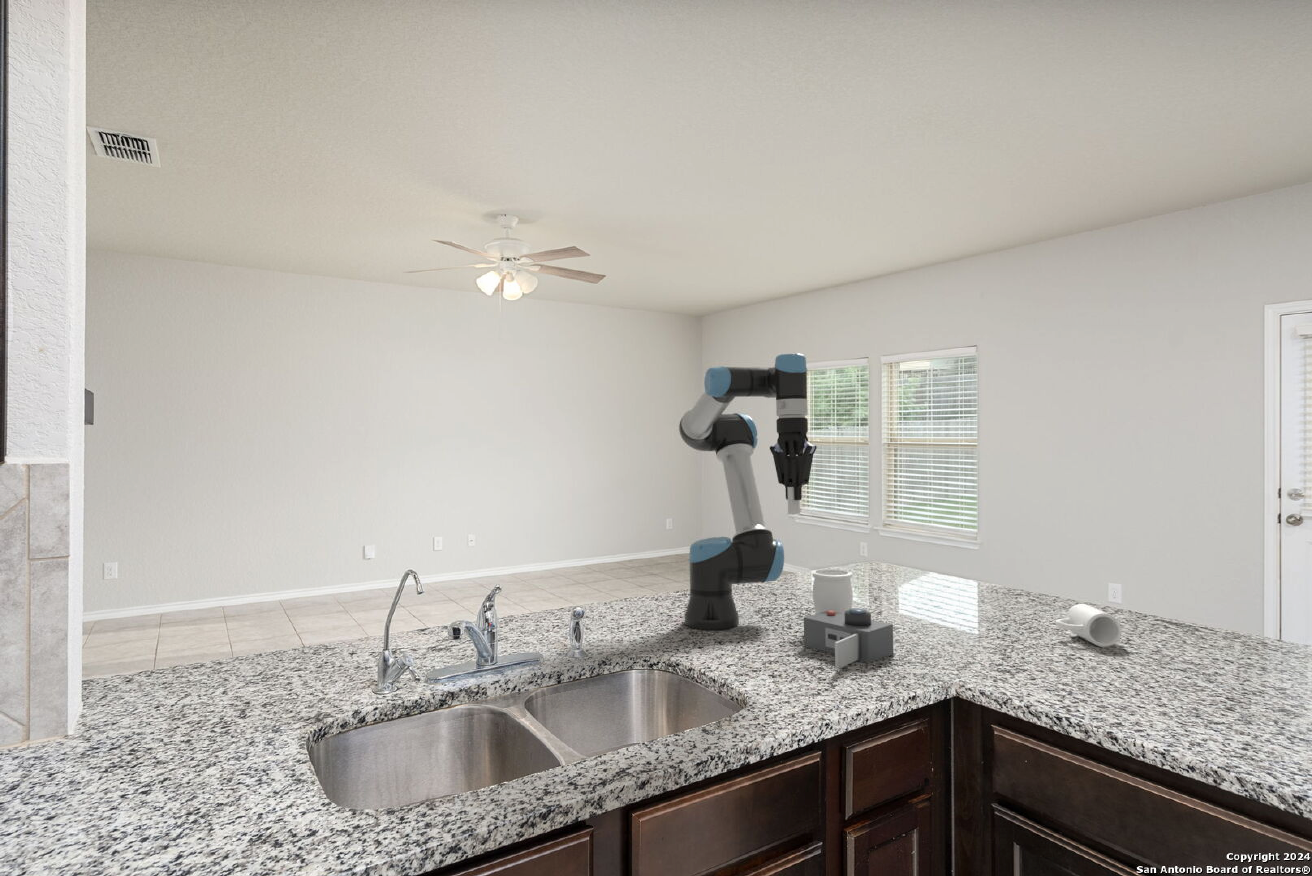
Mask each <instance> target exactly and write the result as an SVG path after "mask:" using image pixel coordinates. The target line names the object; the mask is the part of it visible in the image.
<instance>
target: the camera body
mask: <svg viewBox="0 0 1312 876" xmlns="http://www.w3.org/2000/svg"><path fill="white" fill-rule="evenodd" d="M855 633H858V634H859V659H858V660H856V661H858V662H861V663H865V664H872V663H874V662H877V661H880V660H882V659H884V658H887V657H890V656H893V655H894V624H893V623H889V622H884V621H881V620H875V619H872V613H871V612H870V611H868V610H867V609H865V608H860V607H859V608H857V607H856V608H854V607H852V608H851V609H849V610H847V611H845V612H844V614H842V613H837V612H835V611H826V612H822V613H818V614H816V613H814V614H811V615H807V616H804V617H803V646H804V647H807V648H809V649H813V650H817V651H821V652H825V653H829V654H833V655H835V642H837V641H840V640H842V639H844V638H847V637H849V636H851V635H854V634H855Z"/></svg>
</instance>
